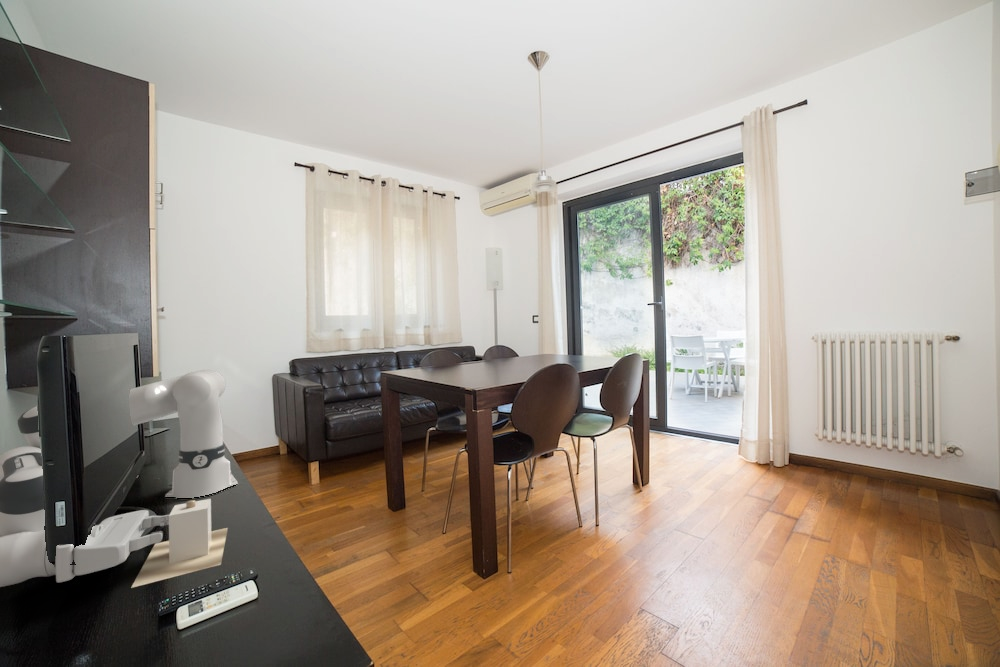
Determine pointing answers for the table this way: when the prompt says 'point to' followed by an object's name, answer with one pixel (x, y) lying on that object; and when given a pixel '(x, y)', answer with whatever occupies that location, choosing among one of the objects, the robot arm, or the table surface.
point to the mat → (161, 569)
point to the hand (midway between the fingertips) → (166, 527)
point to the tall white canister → (189, 530)
